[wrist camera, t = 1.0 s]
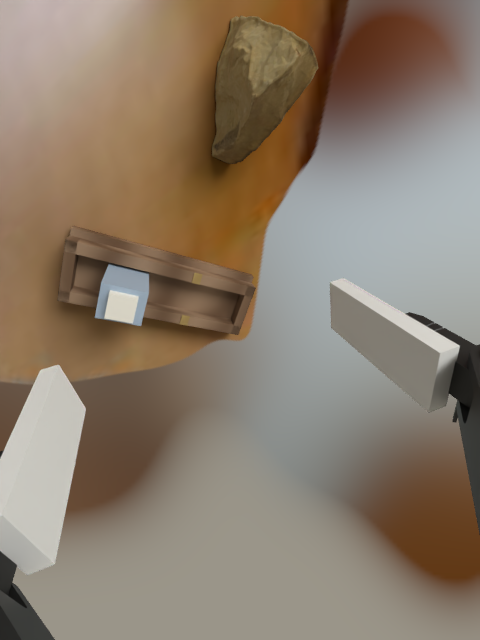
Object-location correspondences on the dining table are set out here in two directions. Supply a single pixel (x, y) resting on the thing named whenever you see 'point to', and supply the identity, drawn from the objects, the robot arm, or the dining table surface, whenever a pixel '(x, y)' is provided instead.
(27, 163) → the dining table surface
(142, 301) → the rider
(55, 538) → the robot arm
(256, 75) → the rock
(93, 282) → the wooden tray
